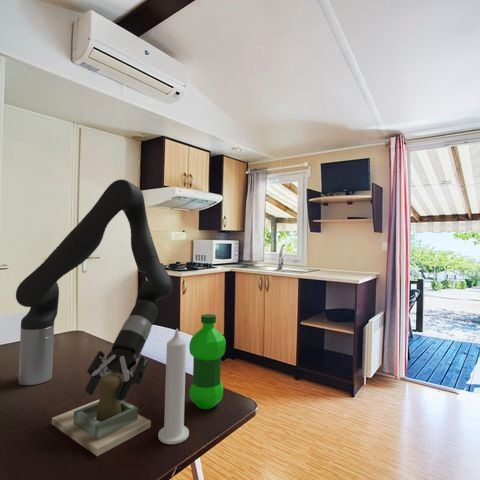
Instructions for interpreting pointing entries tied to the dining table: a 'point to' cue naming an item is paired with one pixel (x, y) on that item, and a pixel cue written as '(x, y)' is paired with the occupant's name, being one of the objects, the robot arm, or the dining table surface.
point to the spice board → (101, 426)
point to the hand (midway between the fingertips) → (103, 396)
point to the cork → (109, 397)
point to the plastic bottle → (207, 364)
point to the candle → (174, 393)
